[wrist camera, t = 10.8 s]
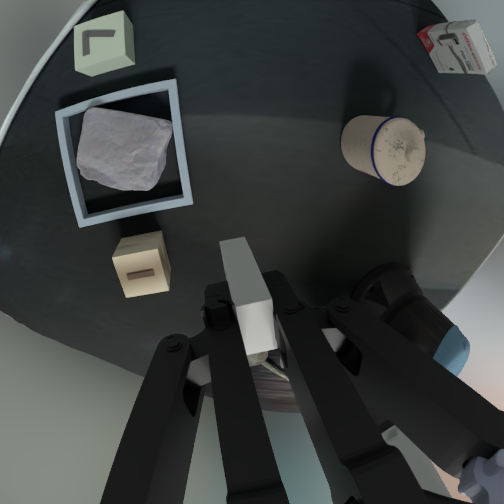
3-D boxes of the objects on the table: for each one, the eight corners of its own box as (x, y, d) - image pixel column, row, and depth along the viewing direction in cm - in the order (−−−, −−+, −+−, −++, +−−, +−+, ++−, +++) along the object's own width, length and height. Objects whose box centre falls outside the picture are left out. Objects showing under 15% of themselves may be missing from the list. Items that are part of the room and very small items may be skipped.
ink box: (415, 33, 31) (465, 25, 20) (427, 25, 30) (476, 18, 19) (438, 74, 34) (488, 76, 24) (449, 64, 34) (498, 65, 23)
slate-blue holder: (192, 199, 37) (193, 204, 35) (83, 222, 35) (79, 227, 33) (176, 80, 30) (175, 78, 28) (61, 111, 28) (55, 112, 26)
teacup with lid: (349, 181, 40) (396, 204, 30) (329, 125, 36) (377, 131, 26) (405, 153, 40) (456, 169, 30) (390, 101, 36) (444, 105, 26)
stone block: (162, 185, 37) (178, 115, 32) (155, 201, 33) (173, 122, 28) (84, 170, 34) (93, 101, 29) (70, 184, 30) (77, 107, 25)
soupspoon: (249, 324, 50) (221, 343, 51) (251, 337, 47) (222, 356, 48) (309, 375, 59) (285, 389, 60) (313, 386, 56) (288, 400, 57)
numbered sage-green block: (135, 64, 28) (125, 54, 22) (91, 76, 27) (74, 70, 21) (132, 25, 25) (123, 9, 19) (89, 38, 24) (73, 25, 19)
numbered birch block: (170, 267, 41) (168, 291, 35) (132, 274, 40) (126, 298, 35) (161, 230, 38) (157, 249, 33) (121, 238, 37) (111, 258, 32)
